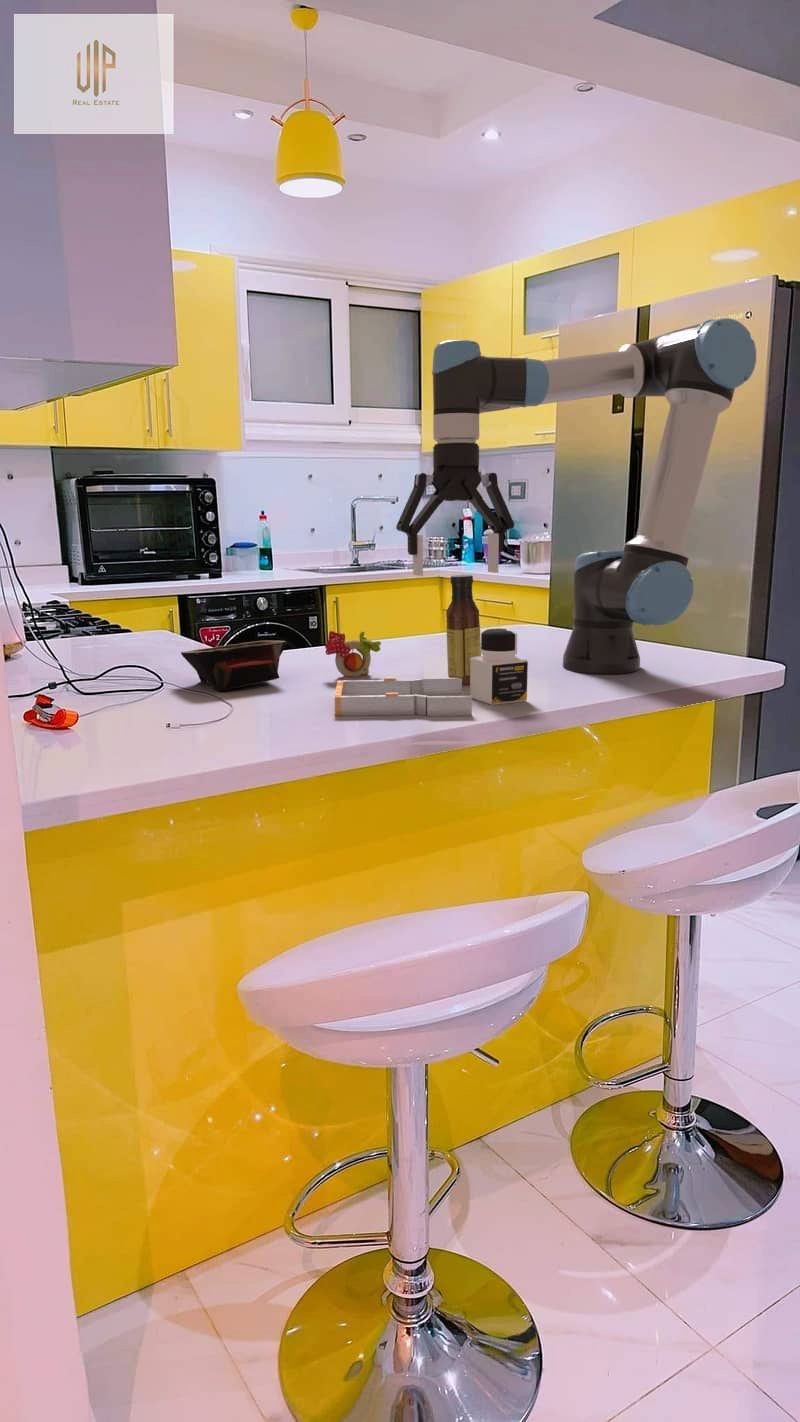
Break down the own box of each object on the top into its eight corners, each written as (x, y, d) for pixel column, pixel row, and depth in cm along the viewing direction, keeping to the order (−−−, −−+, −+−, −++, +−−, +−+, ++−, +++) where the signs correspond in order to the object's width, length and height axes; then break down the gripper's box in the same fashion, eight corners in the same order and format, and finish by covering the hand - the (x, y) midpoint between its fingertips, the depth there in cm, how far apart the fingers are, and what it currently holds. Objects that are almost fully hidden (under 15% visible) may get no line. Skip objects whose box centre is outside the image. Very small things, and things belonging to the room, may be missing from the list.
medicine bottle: (492, 705, 151) (493, 633, 149) (469, 698, 158) (469, 628, 155) (527, 701, 155) (529, 630, 152) (503, 693, 161) (505, 625, 158)
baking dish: (186, 695, 173) (173, 644, 170) (272, 669, 181) (261, 620, 178) (212, 710, 161) (199, 655, 158) (302, 681, 169) (292, 629, 166)
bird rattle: (385, 677, 177) (385, 630, 175) (337, 683, 171) (335, 635, 169) (367, 672, 182) (366, 627, 180) (319, 679, 176) (318, 631, 174)
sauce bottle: (481, 679, 174) (482, 573, 169) (481, 686, 168) (482, 576, 163) (446, 679, 174) (447, 573, 170) (445, 685, 168) (445, 576, 164)
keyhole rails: (461, 694, 161) (461, 675, 160) (471, 715, 144) (471, 694, 144) (338, 696, 160) (337, 676, 159) (334, 717, 144) (334, 696, 143)
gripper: (515, 444, 157) (513, 569, 162) (376, 443, 150) (378, 574, 155) (535, 441, 150) (532, 572, 155) (390, 440, 143) (392, 577, 148)
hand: (456, 573), depth 155 cm, fingers open, 13 cm apart
